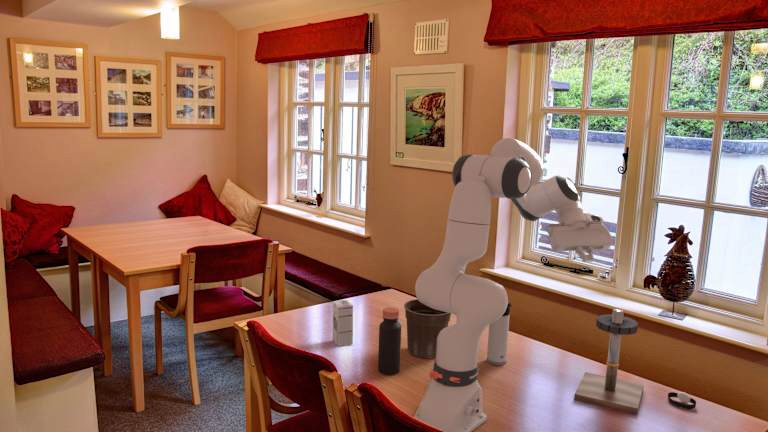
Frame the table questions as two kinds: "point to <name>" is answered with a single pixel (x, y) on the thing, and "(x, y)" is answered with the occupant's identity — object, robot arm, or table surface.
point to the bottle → (389, 342)
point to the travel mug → (498, 339)
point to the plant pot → (423, 328)
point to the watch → (683, 398)
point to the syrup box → (342, 322)
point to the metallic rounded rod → (613, 353)
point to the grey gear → (617, 325)
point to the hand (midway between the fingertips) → (588, 261)
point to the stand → (609, 393)
